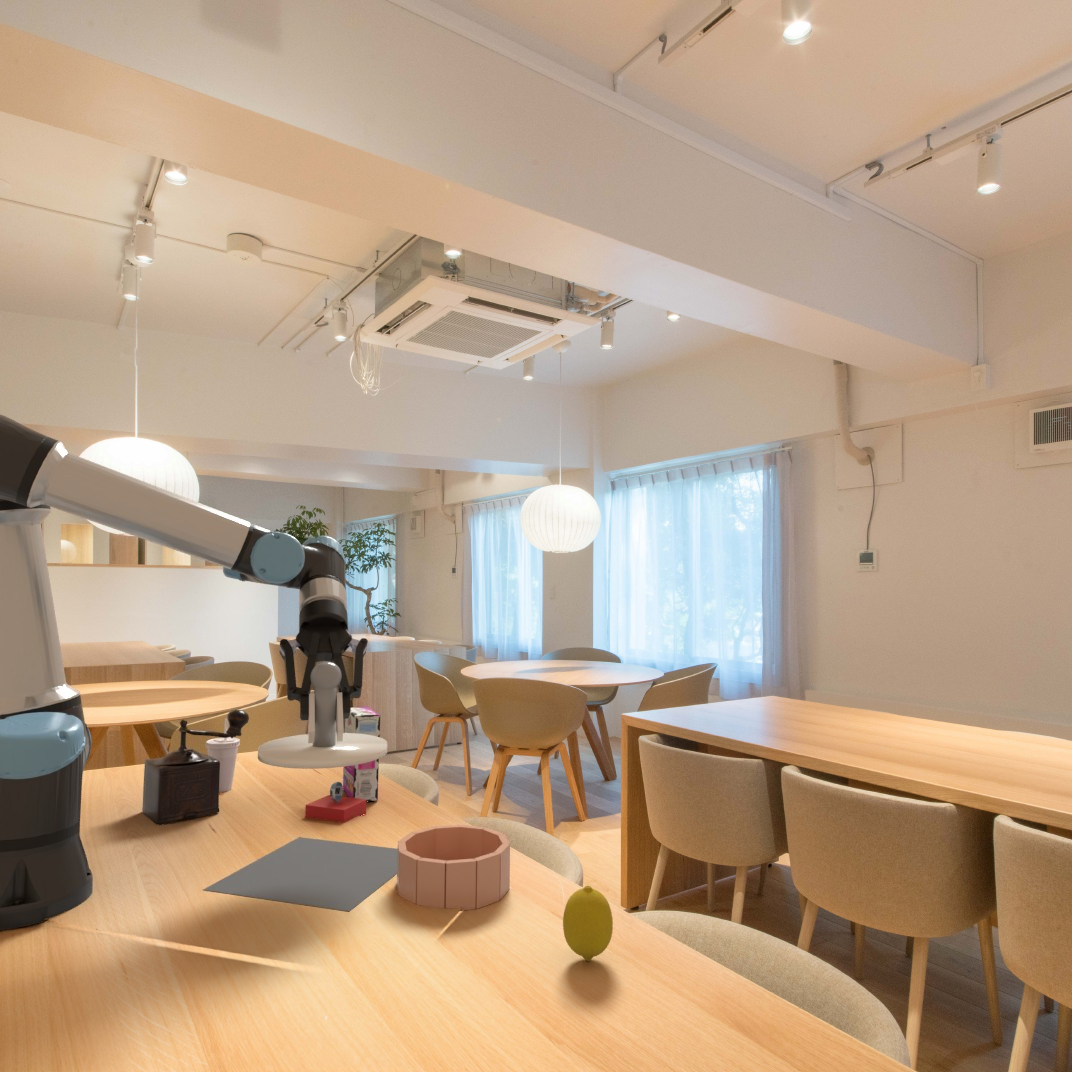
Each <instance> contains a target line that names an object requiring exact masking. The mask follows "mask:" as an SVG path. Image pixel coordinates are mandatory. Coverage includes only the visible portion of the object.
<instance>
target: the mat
mask: <svg viewBox="0 0 1072 1072" xmlns="http://www.w3.org/2000/svg"><path fill="white" fill-rule="evenodd" d="M397 852H398V848H394V847H386V846H377V845H368V844H362V843H361V844H360V843H353V842H352V843H351V842H343V841H337V840H336V841H335V840H326V839H319V838H309V837H302V836H299V837H297V838H295V839H293V840H291V841H289V842H287V843H285V844H284V845H281V846H280V847H278V848H277V849H275V850H273V851H271V852H269V853H268V854H265V855H264V856H262V857H260V858H258V859H256V860H254V861H253V862H251V863H249V864H247V865H245V866H244V867H242V868H240V869H237V870H236V871H234V872H233V873H231V874H229V875H227V876H225V877H224V878H222V879H220V880H219V881H217V882H215V883H212V884H210V885H209V886H207V887H205V888H204V889H202V891H205V892H206V891H207V892H212V893H220V894H226V895H227V894H228V895H232V896H239V897H246V898H247V897H248V898H253V899H260V900H266V901H275V902H280V903H288V904H293V905H300V906H308V907H313V908H314V907H315V908H321V909H327V910H328V909H329V910H336V911H341V912H347V913H349V912H350V913H351V911H352V910H354V909H355V908H356V907H357V906H359V905H360V904H361V903H363V902H364V900H366V899H367V898H369V897H370V896H371V895H372V894H374V893H376V891H377V890H379V889H380V888H381V887H382V886H384V885H385V884H387V882H389V881H390V880H392V878H394V877H395V876H397Z"/></svg>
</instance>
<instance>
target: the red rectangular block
mask: <svg viewBox="0 0 1072 1072" xmlns="http://www.w3.org/2000/svg"><path fill="white" fill-rule="evenodd" d="M343 793H344V790H343V782H341V781H336V782H333V784H331V786H330V788H329V794H328V795H326V796H323V797H321V798H319V799H317V800H314V801H311V802H309V803H307V804H305V812H304V813H305V814H304V815H305V816H304V817H305V818H310V819H317V820H325V821H331V822H340V823H346V822H347V821H349V820H353V818H355V817H362V816H361V815H363V814H365V813H366V814H367V802H366V800H365V799H357V798H349V797H348V796H343ZM366 814H365V815H366ZM363 816H364V815H363Z"/></svg>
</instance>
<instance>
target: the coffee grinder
mask: <svg viewBox="0 0 1072 1072" xmlns="http://www.w3.org/2000/svg"><path fill="white" fill-rule="evenodd" d="M226 719H228V729H227V731H226V733H224V732H218V731H213V730H211V731H210V730H194V729H188V727H187V725H188V721H187V719H181V720H180V721H179V724H180V727H179V728H178V731H179V732H180V746H179V747H178V749H176V750H173V751H172V752H169V753H167V754H166V755H164V756H163V757H156V758H155V757H154V758H149V759H145V760H144V769H143V770H144V771H143V772H144V773H143V788H142V789H143V790H142V792H143V793H142V809H141V810H142V813H143V815H144V816H146V817H147V818H148V819H149V820H150V821H152V822H153V823H154V824H155V825H157V826H163V825H162V824H164V825H168V823H169V824H173V823H180V822H185V821H190V820H194V819H197V818H201V817H207V816H211V815H214V814H215V815H216V814H218V813H220V799H219V798H220V797H219V796H220V792H219V777H220V761H218V760H217V759H215V758H213V757H211V756H208V754H205V753H203V752H200V751H197V750H196V749H193V748H188V747H187V743H186V741H187V734H189V735H192V736H203V737H206V736H207V737H215V738H228V737H230V738H237V737H241V736H242V735H243V734H242V728H243V727H245V726H246V725H247V724H248V722H249V719H250V717H249V714H248V712H246V711H245V710H241V709H233V710H231V711H229V712H228V714H227V716H226Z"/></svg>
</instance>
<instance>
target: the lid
mask: <svg viewBox="0 0 1072 1072" xmlns="http://www.w3.org/2000/svg"><path fill="white" fill-rule="evenodd" d="M341 678H342V674H341V670H340V668H339V667H338V666H337V665H336V664H335V663H333V662H328V661H320V662H318V663H316V666H315V667H314V668H313V670H312V672H311V675H310V679H311V683H312V687H313V688H314V689H313V691H314V692H313V693H314V694H315V736H314V743H308V733H307V734H305V733H304V734H297V735H292V736H290V735H289V736H284V737H280V738H276V739H273V740H272V739H271V740H269V741H265V742H264V743H262V744H260V745H259V746H258V748H257V759H258V761H259V762H261V763H263V764H265V765H268V766H270V767H271V766H272V767H277V768H278V767H279V768H287V769H301V770H302V769H305V770H306V769H309V770H310V769H313V770H314V769H332V768H344V766H351V765H357V764H362V763H367V762H371V761H374V760H377V759H379V760H380V759H381V758H383V757H384V756H386V755H387V754H388V741H387V740H386V739H385V738H383V737H377V736H372V735H366V734H357V733H345V732H343V740H342V741H339V742H337V731H336V707H337V693H338V685H339V684H340V682H341Z"/></svg>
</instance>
